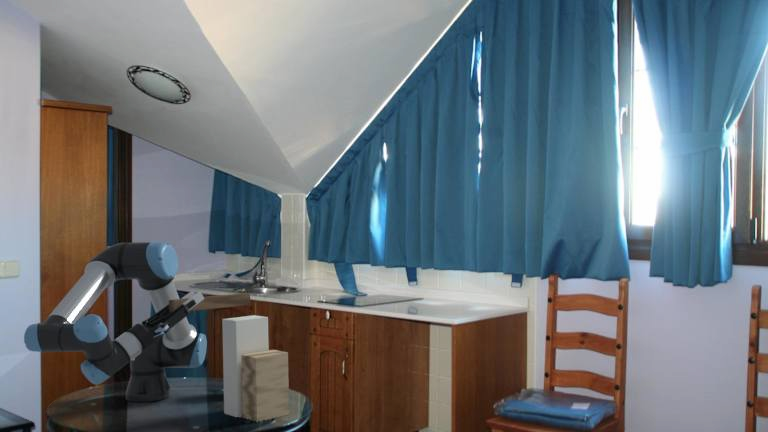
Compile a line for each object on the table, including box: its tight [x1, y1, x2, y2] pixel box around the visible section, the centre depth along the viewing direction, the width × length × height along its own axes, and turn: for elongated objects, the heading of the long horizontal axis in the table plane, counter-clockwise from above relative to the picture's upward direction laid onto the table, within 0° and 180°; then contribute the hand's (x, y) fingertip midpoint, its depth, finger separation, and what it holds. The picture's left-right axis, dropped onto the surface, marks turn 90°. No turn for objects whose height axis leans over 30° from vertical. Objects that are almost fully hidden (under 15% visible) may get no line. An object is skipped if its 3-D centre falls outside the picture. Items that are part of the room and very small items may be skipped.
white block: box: [221, 314, 270, 418], centre depth 234 cm, size 8×12×30 cm, turn 134°
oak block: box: [241, 349, 290, 423], centre depth 228 cm, size 8×12×20 cm, turn 134°
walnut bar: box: [169, 292, 251, 312], centre depth 224 cm, size 4×26×4 cm, turn 133°
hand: (198, 294), depth 221 cm, fingers closed on walnut bar, 3 cm apart
